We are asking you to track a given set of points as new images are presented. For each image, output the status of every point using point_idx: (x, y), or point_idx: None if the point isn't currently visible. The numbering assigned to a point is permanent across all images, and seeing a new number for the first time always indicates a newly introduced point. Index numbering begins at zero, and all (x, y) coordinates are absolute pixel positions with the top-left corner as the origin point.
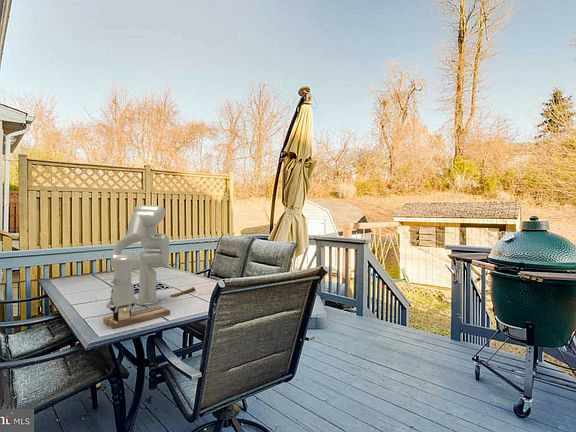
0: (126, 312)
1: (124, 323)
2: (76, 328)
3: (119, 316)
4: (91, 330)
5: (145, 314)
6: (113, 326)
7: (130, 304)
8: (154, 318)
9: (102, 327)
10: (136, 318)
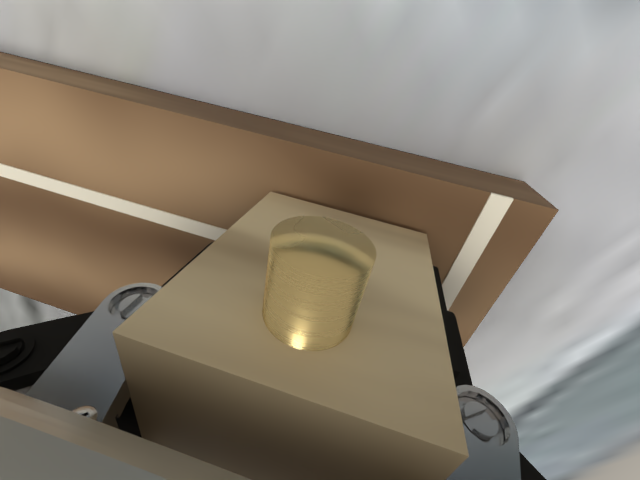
0: (315, 216)
1: (381, 155)
2: (592, 463)
3: (426, 271)
4: (624, 354)
5: (56, 157)
6: (539, 197)
7: (46, 392)
8: (20, 58)
9: (503, 326)
10: (196, 118)
